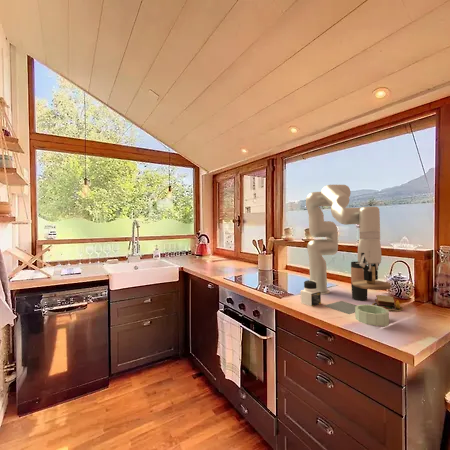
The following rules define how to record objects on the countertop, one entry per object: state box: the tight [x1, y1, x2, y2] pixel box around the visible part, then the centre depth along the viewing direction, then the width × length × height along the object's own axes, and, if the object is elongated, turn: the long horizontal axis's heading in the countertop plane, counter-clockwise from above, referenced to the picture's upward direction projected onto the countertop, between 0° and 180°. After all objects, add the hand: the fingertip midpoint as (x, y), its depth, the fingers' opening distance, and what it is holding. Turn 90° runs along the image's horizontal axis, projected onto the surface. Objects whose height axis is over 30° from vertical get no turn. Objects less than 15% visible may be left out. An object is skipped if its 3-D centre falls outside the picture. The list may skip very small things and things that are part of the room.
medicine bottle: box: [300, 279, 322, 307], centre depth 128 cm, size 7×7×12 cm
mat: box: [323, 300, 358, 315], centre depth 121 cm, size 14×14×1 cm
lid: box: [352, 266, 392, 291], centre depth 104 cm, size 14×14×8 cm
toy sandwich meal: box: [371, 294, 404, 313], centre depth 120 cm, size 12×14×5 cm
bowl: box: [354, 304, 390, 328], centre depth 104 cm, size 12×12×5 cm
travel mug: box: [350, 261, 368, 302], centre depth 133 cm, size 8×8×20 cm
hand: (370, 279), depth 104 cm, fingers closed on lid, 3 cm apart
